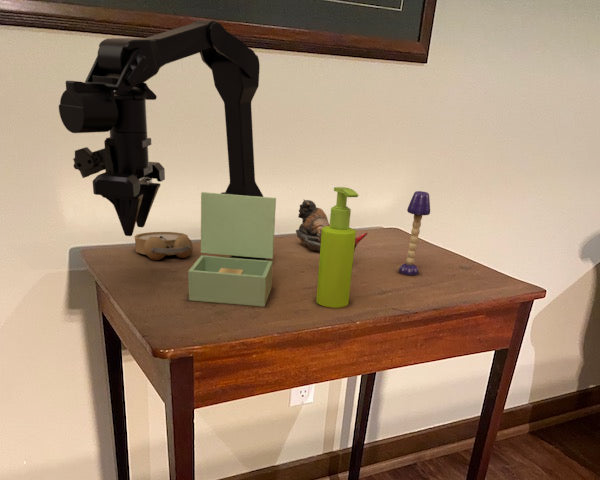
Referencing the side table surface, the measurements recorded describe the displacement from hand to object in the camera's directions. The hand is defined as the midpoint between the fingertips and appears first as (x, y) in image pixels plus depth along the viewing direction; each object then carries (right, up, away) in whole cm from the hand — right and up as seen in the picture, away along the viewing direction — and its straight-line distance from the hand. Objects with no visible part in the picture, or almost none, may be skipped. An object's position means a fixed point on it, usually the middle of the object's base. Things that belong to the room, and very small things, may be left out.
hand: (134, 231), depth 104 cm
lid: (+17, +3, +8) cm, 19 cm away
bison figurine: (+31, +7, +41) cm, 52 cm away
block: (+15, -9, +6) cm, 19 cm away
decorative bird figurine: (+37, 0, +28) cm, 46 cm away
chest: (+16, -9, +8) cm, 20 cm away
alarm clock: (-1, +3, +28) cm, 29 cm away
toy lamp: (+51, -2, +28) cm, 58 cm away
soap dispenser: (+34, -11, +7) cm, 37 cm away
